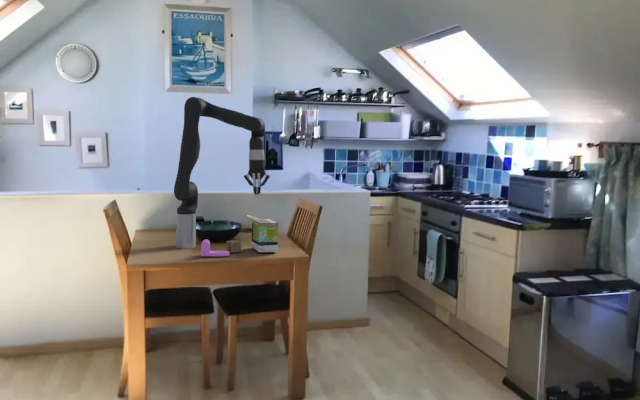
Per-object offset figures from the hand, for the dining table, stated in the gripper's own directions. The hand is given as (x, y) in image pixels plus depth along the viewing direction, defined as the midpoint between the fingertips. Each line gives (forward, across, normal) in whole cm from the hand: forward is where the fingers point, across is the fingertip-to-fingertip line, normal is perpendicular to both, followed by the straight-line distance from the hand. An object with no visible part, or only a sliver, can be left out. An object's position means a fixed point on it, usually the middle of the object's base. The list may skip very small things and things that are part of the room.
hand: (257, 194), depth 264 cm
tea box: (+28, +3, +4) cm, 29 cm away
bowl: (+28, -11, +59) cm, 66 cm away
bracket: (+28, -18, -13) cm, 36 cm away
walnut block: (+25, -10, -1) cm, 27 cm away
